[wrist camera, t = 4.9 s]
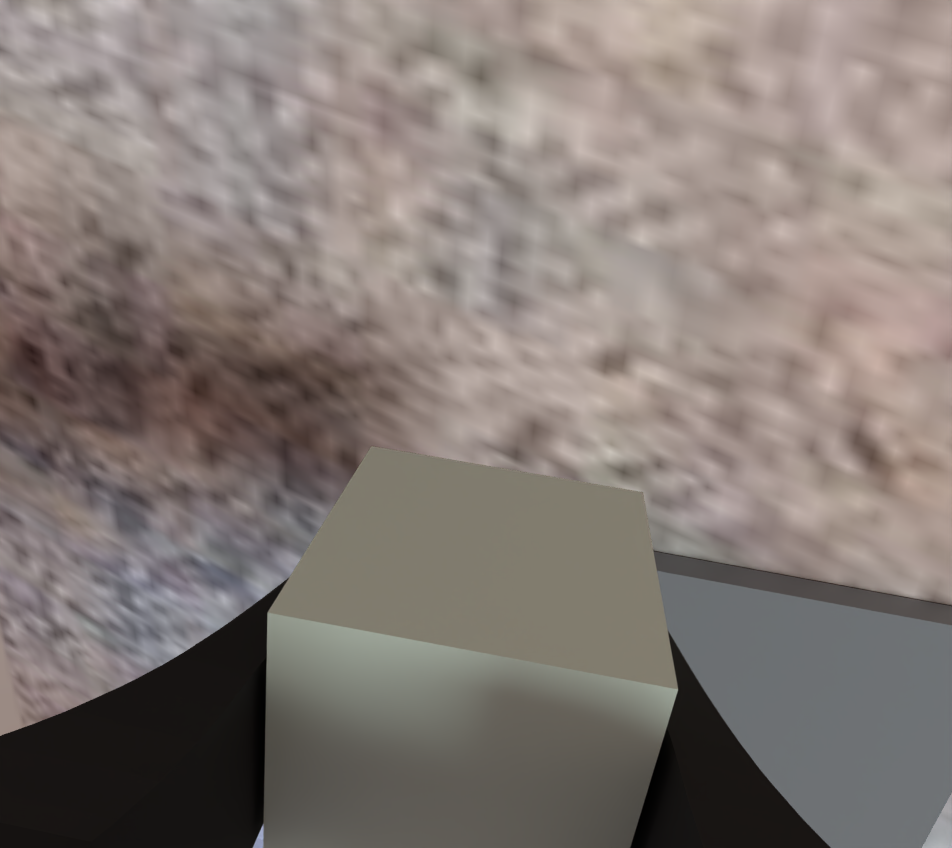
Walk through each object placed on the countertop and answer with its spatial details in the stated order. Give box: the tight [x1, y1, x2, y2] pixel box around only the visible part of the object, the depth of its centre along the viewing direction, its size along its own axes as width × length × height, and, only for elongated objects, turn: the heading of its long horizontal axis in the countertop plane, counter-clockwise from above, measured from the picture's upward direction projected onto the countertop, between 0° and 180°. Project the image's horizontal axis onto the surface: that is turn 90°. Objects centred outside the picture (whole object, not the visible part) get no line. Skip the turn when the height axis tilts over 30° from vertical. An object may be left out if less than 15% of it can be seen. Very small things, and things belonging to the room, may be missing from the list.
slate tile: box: [653, 551, 952, 848], centre depth 23 cm, size 12×12×1 cm
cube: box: [263, 446, 678, 848], centre depth 12 cm, size 5×5×5 cm
